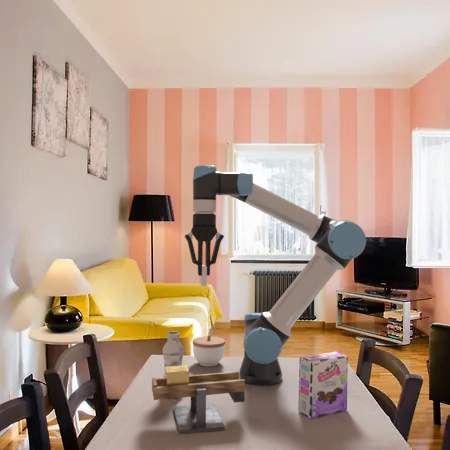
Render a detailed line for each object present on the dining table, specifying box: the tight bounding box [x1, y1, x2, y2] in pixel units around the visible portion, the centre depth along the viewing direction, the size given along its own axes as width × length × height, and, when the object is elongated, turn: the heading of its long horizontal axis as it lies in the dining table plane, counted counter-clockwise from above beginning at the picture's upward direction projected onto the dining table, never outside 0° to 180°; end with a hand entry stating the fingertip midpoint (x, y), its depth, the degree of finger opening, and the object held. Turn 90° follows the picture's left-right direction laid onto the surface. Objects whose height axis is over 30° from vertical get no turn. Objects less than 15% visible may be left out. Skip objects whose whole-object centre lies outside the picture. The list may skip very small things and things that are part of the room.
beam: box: [151, 371, 246, 403], centre depth 133 cm, size 25×9×7 cm, turn 102°
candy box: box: [298, 351, 349, 420], centre depth 140 cm, size 14×6×16 cm, turn 117°
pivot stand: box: [172, 388, 226, 435], centre depth 133 cm, size 12×16×10 cm
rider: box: [164, 364, 190, 386], centre depth 132 cm, size 6×5×5 cm
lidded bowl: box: [192, 334, 226, 367], centre depth 184 cm, size 13×13×11 cm
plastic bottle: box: [162, 331, 184, 378], centre depth 150 cm, size 6×7×20 cm
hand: (203, 285), depth 155 cm, fingers closed
